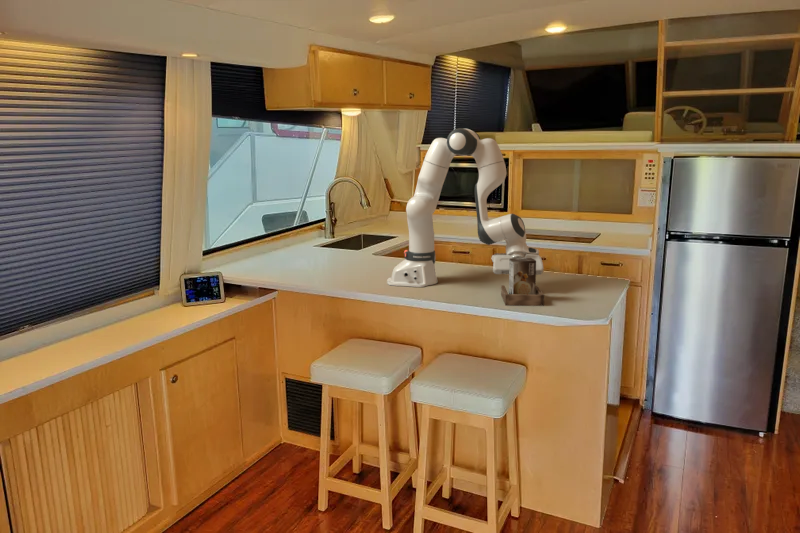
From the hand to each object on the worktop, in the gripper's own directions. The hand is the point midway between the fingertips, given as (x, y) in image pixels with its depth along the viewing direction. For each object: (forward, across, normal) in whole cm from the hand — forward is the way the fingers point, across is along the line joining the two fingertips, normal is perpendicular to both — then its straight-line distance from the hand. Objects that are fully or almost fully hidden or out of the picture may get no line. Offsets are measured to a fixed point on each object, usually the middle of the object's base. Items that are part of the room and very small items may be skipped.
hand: (518, 282), depth 235 cm
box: (+8, 0, 0) cm, 8 cm away
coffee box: (+8, +1, 0) cm, 8 cm away
